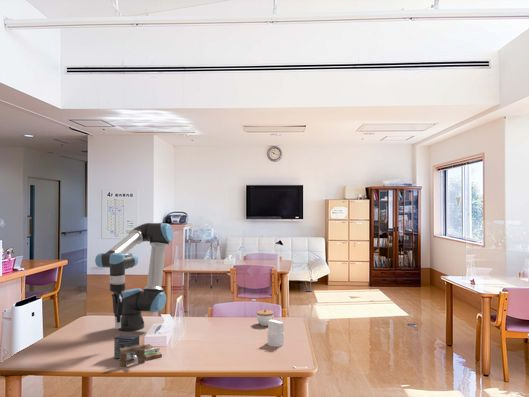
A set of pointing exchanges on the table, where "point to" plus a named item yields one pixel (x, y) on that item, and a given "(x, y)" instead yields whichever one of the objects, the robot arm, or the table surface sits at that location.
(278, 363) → the table surface
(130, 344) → the small box
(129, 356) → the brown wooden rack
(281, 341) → the white upright cylinder
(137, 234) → the robot arm
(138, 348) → the gauge bench
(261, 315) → the lidded jar
